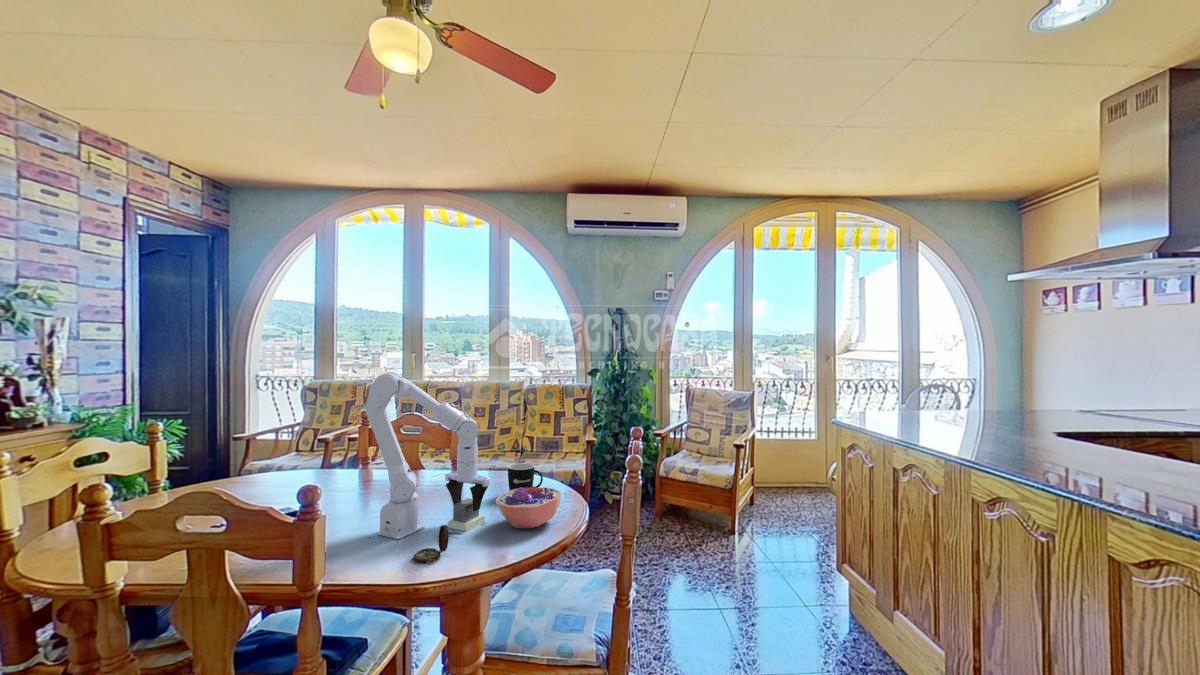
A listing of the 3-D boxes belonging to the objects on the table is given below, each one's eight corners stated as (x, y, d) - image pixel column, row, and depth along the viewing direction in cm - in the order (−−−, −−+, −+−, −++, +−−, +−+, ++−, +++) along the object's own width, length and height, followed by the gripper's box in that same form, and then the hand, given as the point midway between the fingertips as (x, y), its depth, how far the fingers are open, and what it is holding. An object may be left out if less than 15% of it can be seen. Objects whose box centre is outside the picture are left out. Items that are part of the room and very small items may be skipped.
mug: (508, 501, 161) (508, 470, 161) (506, 493, 170) (506, 463, 170) (544, 498, 164) (544, 468, 164) (540, 490, 173) (541, 462, 173)
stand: (466, 531, 134) (466, 524, 135) (448, 527, 137) (448, 520, 137) (484, 521, 142) (484, 515, 142) (466, 518, 144) (466, 512, 145)
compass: (410, 556, 119) (411, 526, 119) (443, 549, 123) (444, 520, 123) (417, 569, 112) (417, 537, 112) (451, 561, 116) (452, 531, 116)
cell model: (574, 522, 142) (575, 483, 142) (520, 543, 127) (521, 499, 127) (537, 509, 153) (537, 473, 153) (483, 526, 138) (483, 486, 138)
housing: (464, 523, 136) (465, 505, 136) (453, 520, 138) (453, 503, 138) (478, 516, 141) (478, 499, 141) (467, 514, 143) (467, 497, 143)
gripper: (496, 460, 140) (495, 507, 140) (457, 455, 146) (456, 500, 146) (480, 465, 134) (480, 515, 134) (440, 460, 140) (439, 507, 140)
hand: (466, 508), depth 140 cm, fingers open, 6 cm apart
